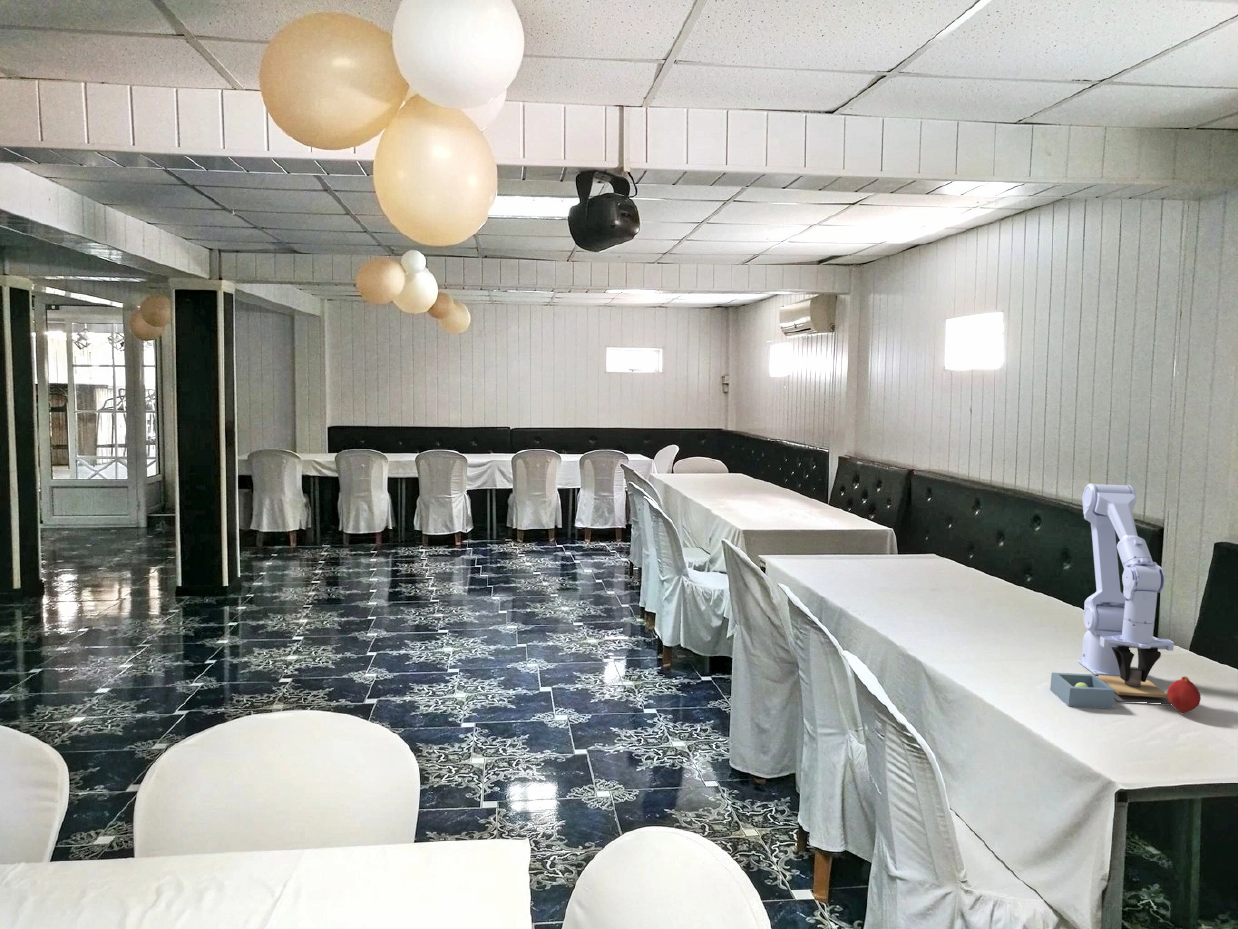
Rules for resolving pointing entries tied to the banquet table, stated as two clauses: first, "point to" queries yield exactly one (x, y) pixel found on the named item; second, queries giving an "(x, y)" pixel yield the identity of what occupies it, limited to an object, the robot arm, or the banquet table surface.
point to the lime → (1081, 685)
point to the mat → (1140, 699)
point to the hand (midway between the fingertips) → (1132, 680)
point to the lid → (1133, 685)
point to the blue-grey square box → (1082, 690)
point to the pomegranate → (1183, 695)
